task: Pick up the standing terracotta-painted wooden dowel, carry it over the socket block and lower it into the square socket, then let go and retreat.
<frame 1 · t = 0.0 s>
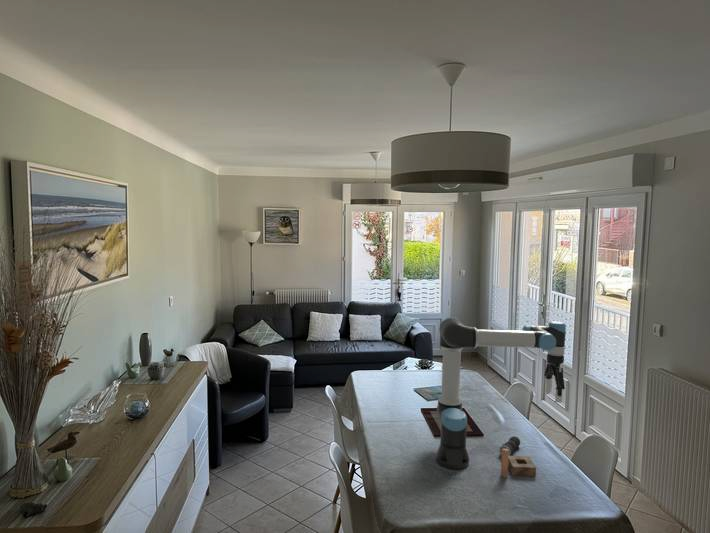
hand: (553, 396, 229), 28 cm above the table, fingers open, 13 cm apart
peg: (504, 476, 209), on the table
flashlight: (510, 451, 233), on the table
socket block: (520, 470, 215), on the table
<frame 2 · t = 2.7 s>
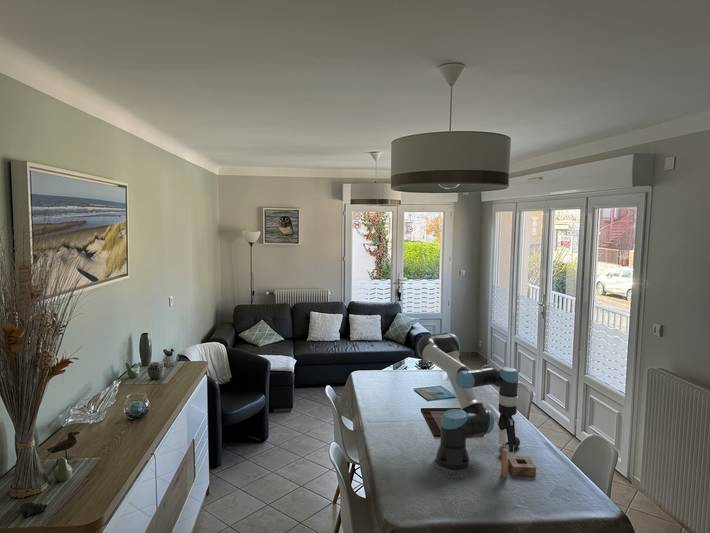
hand: (505, 451, 208), 12 cm above the table, fingers open, 13 cm apart
nothing on the table moved.
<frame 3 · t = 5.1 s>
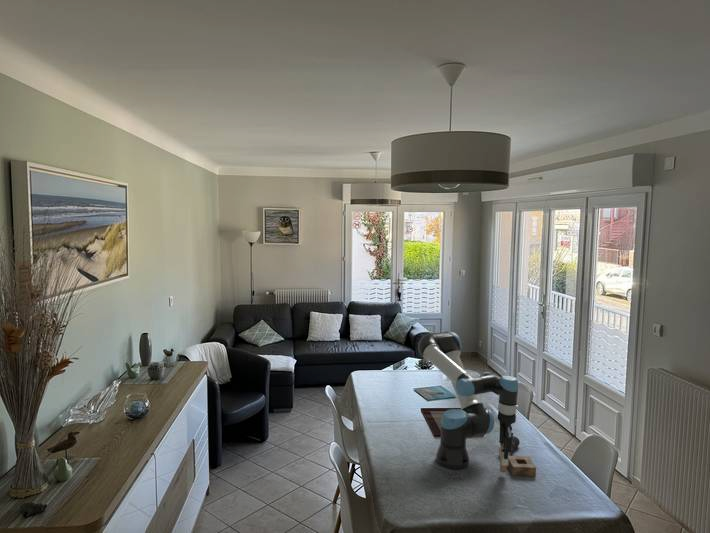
hand: (503, 463, 209), 6 cm above the table, fingers closed on peg, 2 cm apart
peg: (503, 470, 209), point 2 cm above the table, touching gripper
everything else where it was.
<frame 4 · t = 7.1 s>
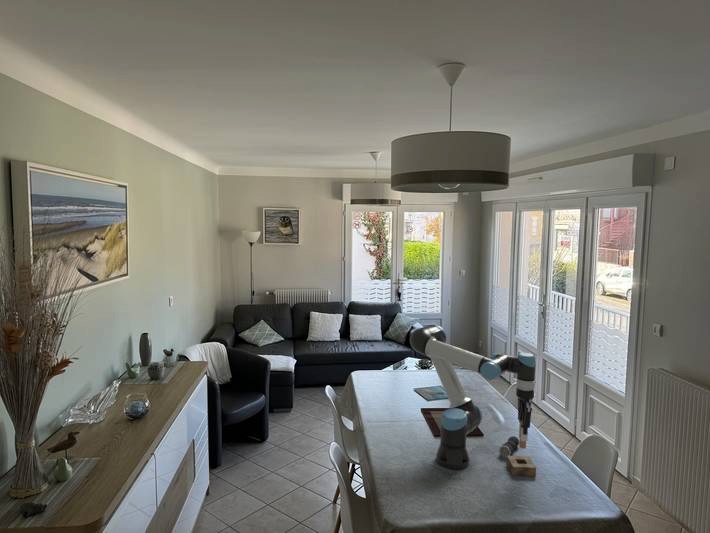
hand: (523, 439, 213), 15 cm above the table, fingers closed on peg, 2 cm apart
peg: (522, 447, 213), point 11 cm above the table, touching gripper
everything else where it was.
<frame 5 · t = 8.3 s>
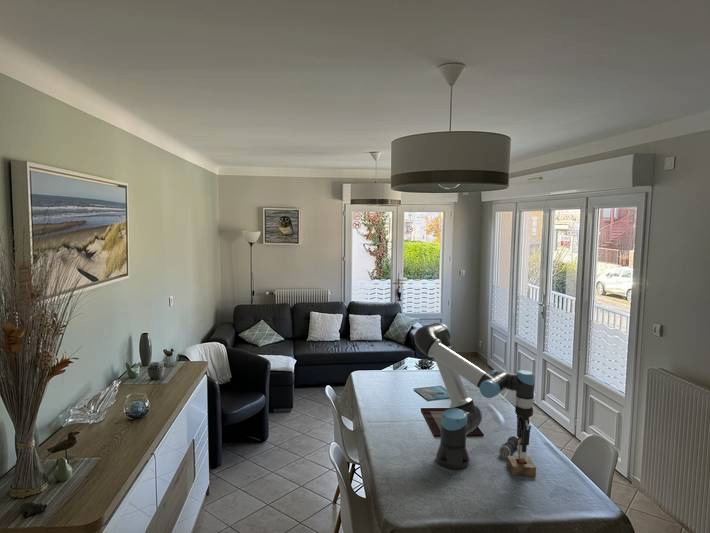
hand: (521, 456, 214), 7 cm above the table, fingers closed on peg, 2 cm apart
peg: (521, 464, 214), point 3 cm above the table, touching gripper
everything else where it was.
when the fingers open (5 cm above the table, at t = 9.4 s): peg drops 1 cm, resting in socket block.
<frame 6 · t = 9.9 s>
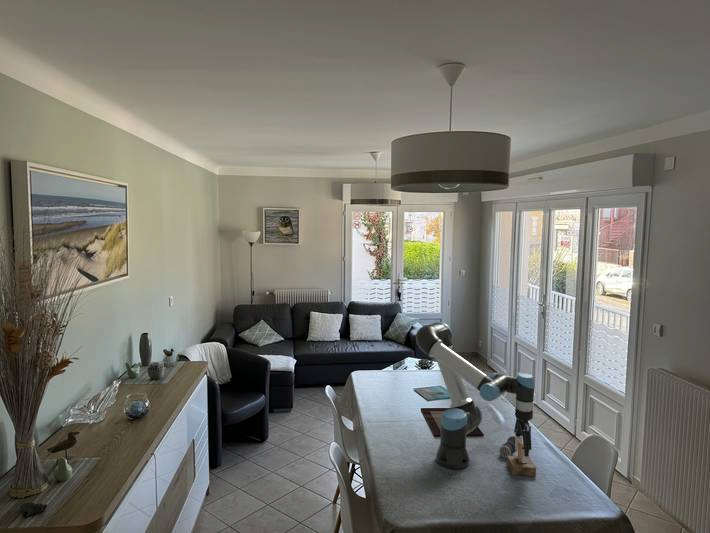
hand: (521, 456, 214), 6 cm above the table, fingers open, 10 cm apart
peg: (520, 469, 215), resting in socket block
everything else where it was.
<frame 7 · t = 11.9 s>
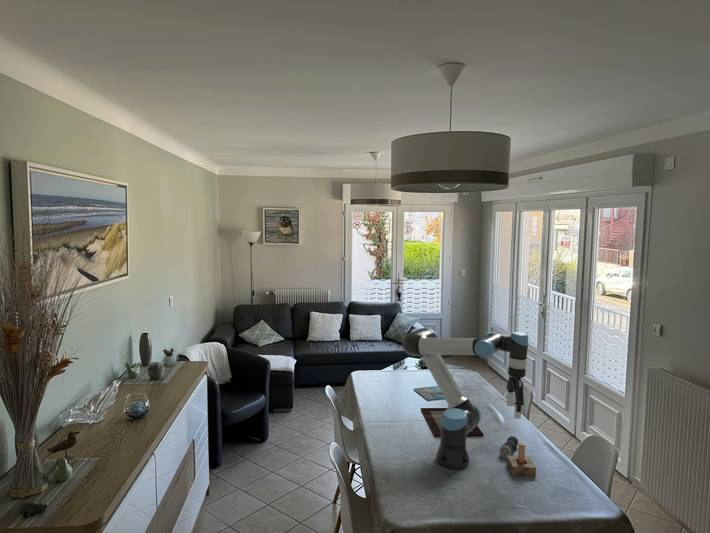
hand: (513, 411, 216), 25 cm above the table, fingers open, 13 cm apart
nothing on the table moved.
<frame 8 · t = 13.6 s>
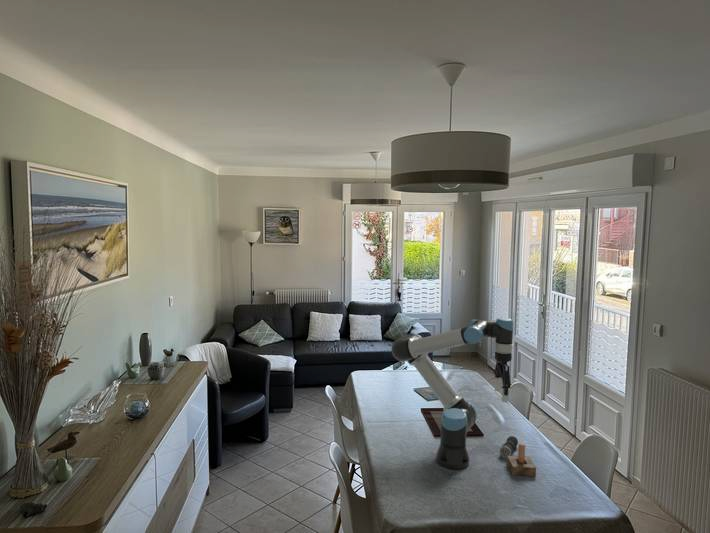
hand: (501, 396, 221), 31 cm above the table, fingers open, 13 cm apart
nothing on the table moved.
at the end: peg 0.1 cm off-centre on the socket block, point 0.0 cm above the socket block's base; peg tilted 0°; the gripper is holding nothing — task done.
